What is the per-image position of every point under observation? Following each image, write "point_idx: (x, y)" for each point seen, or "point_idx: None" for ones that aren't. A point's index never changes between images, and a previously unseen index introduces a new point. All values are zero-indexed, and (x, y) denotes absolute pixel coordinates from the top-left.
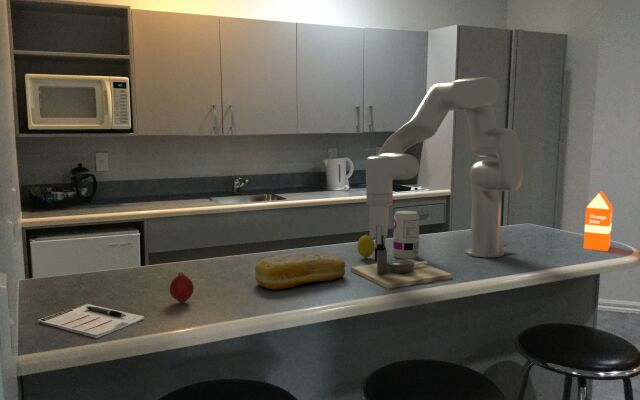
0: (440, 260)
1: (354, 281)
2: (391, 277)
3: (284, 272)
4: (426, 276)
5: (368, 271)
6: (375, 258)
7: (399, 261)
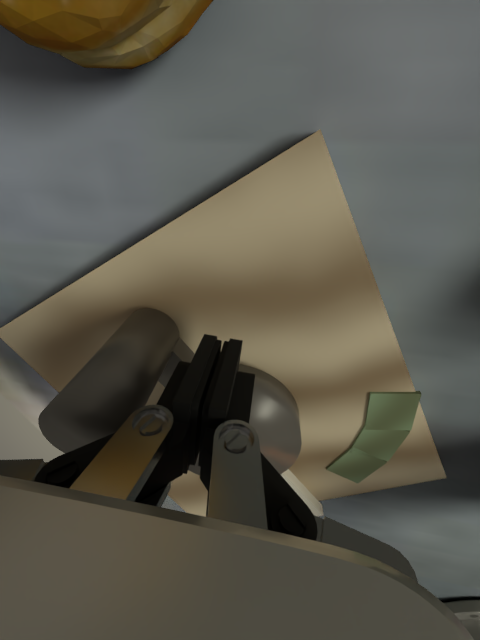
0: (434, 536)
1: (71, 158)
2: None
3: None
4: None
5: (202, 262)
6: (200, 345)
7: (260, 442)
